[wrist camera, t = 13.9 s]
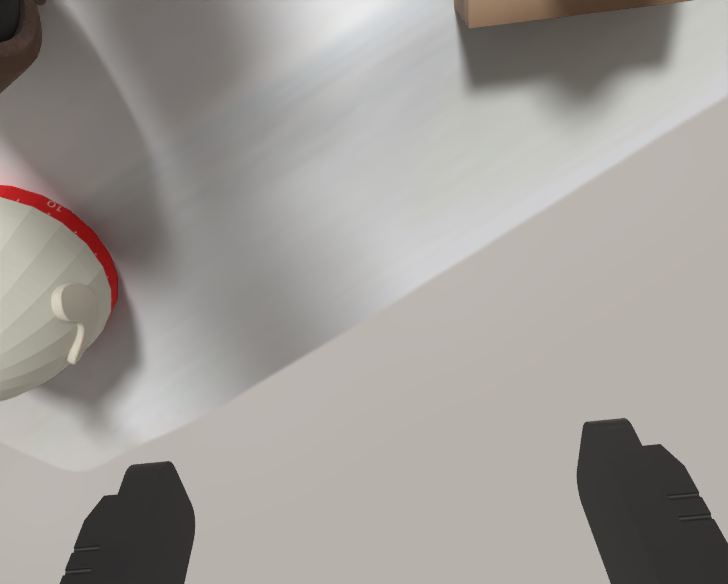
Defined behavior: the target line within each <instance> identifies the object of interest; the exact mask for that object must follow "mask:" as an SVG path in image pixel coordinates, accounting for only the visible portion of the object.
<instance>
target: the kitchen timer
mask: <svg viewBox="0 0 728 584" xmlns="http://www.w3.org/2000/svg"><path fill="white" fill-rule="evenodd" d="M117 299H118V276H117V273H116V270H115V267H114V265H113V262H112V259H111V256H110V254H109V252H108V251H107V249H106V248H105V246H104V245H103V244H102V242H101V241H100V239H99V238H98V236H97V235H96V234H95V232H94V231H93V230H92V229H90V228H89V227H88V226H87V225H86V224H85V223H84V222H83V221H81V220H80V219H79V218H78V217H77V216H76V215H75V214H73V213H72V212H71V211H69V210H68V209H66V208H64V207H62V206H60V205H59V204H57V203H55V202H53V201H51V200H50V199H48V198H46V197H44V196H42V195H39V194H36V193H33V192H29V191H26V190H23V189H20V188H16V187H13V186H4V185H0V401H3V400H7V399H10V398H13V397H15V396H18V395H20V394H22V393H25V392H27V391H29V390H31V389H33V388H35V387H37V386H39V385H41V384H43V383H45V382H47V381H48V380H50V379H52V378H53V377H54V376H56V375H57V374H58V373H59V372H61V371H62V370H63V369H64V368H66V367H67V366H68V365H69V364H73V365H75V364H76V363H77V362H78V361H79V360H80V358H81V357H82V355H83V354H84V352H85V350H86V349H87V348H88V347H89V346H90V345H91V344H92V343H93V342H94V341H95V340H96V339H97V337H98V336H99V335H100V334H101V332H102V331H103V329H104V327H105V325H106V323H107V321H108V319H109V317H110V315H111V313H112V310H113V308H114V306H115V303H116V301H117Z"/></svg>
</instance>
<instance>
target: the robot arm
mask: <svg viewBox="0 0 728 584" xmlns="http://www.w3.org/2000/svg"><path fill="white" fill-rule="evenodd" d="M577 485H578V491H579V496H580V500H581V503H582V506H583V509H584V512H585V514H586V517H587V520H588V522H589V525H590V528H591V531H592V533H593V536H594V539H595V542H596V544H597V547H598V550H599V552H600V555H601V558H602V560H603V563H604V566H605V569H606V571H607V574H608V577H609V580H610V583H611V584H728V543H727V541H726V540H725V538H724V536H723V534H722V532H721V531H720V529H719V527H718V525H717V524H716V522H715V520H714V519H712V518H711V513H710V511H709V509H708V507H707V506H706V504H705V502H704V500H703V498H702V497H700V496H699V491H698V489H697V488H696V486H695V484H694V482H693V481H692V479H691V477H690V475H689V473H688V471H687V470H686V468H685V466H684V465H683V464H682V463H681V462H680V461H678V460H677V459H676V458H675V457H674V456H673V455H672V454H671V453H670V452H668V451H667V450H666V449H665V448H664V447H663V446H662V445H661V444H657V445H647V446H642V444H641V442H640V440H639V438H638V436H637V434H636V433H635V430H634V429H633V427H632V425H631V423H630V422H629V421H628V420H627V419H625V418H621V419H611V420H601V421H591V422H585V423H584V425H583V430H582V438H581V444H580V452H579V459H578V466H577ZM194 535H195V516H194V510H193V507H192V504H191V502H190V500H189V498H188V495H187V493H186V491H185V489H184V487H183V484H182V482H181V480H180V478H179V475H178V473H177V471H176V469H175V467H174V465H173V464H172V463H171V462H169V461H166V462H156V463H145V464H135V465H131V466H130V467H129V468H128V469H127V471H126V473H125V475H124V478H123V481H122V484H121V487H120V489H119V492H118V495H108V496H104V497H103V498H102V499H101V500H100V501H99V503H98V504H97V505H96V507H95V508H94V509H93V510H92V512H91V513H90V514H89V515H88V517H87V518H86V519H85V520H84V523H83V525H82V528H81V530H80V533H79V536H78V538H77V541H76V543H75V546H74V553H72V554H71V556H70V559H69V561H68V564H67V566H66V569H65V571H66V573H65V575H64V576H63V577H62V579H61V582H60V584H184V582H185V578H186V573H187V568H188V564H189V559H190V555H191V550H192V545H193V540H194Z"/></svg>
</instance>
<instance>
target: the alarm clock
mask: <svg viewBox="0 0 728 584" xmlns="http://www.w3.org/2000/svg"><path fill="white" fill-rule="evenodd" d="M35 2H36V3H37V4H38V5H44V4H45V3H46V0H0V93H1V92H2V91H3V90H4V89H6V88H7V87H8V86H9V85H10V84H11V83H12V82H13V81H14V80H15V79H17V78H18V77H19V76H20V75H21V74H22V73H23V72H24V71H25V70H26V69H27V68H28V67H29V66H30V65H31V64H32V63H33V62H34V61H35V59H36V58H37V56H38V53H39V51H40V47H41V39H42V32H41V23H40V17H39V13H38V9H37V6H36V3H35Z"/></svg>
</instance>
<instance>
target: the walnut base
mask: <svg viewBox="0 0 728 584" xmlns="http://www.w3.org/2000/svg"><path fill="white" fill-rule="evenodd" d="M684 1H691V0H454V8H455V10H456V11H457V13H458V14H459V15H460V17H461V18H462V20H463V21H464V22H465V24H466V25H467V27H468V28H469V29H470V28H478V27H486V26H493V25H501V24H509V23H517V22H525V21H533V20H541V19H549V18H557V17H565V16H573V15H581V14H589V13H596V12H604V11H612V10H620V9H628V8H636V7H644V6H652V5H660V4H668V3H676V2H684Z"/></svg>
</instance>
